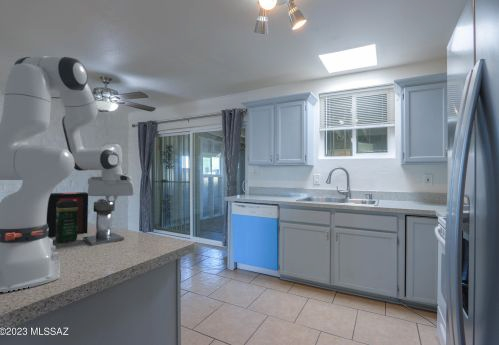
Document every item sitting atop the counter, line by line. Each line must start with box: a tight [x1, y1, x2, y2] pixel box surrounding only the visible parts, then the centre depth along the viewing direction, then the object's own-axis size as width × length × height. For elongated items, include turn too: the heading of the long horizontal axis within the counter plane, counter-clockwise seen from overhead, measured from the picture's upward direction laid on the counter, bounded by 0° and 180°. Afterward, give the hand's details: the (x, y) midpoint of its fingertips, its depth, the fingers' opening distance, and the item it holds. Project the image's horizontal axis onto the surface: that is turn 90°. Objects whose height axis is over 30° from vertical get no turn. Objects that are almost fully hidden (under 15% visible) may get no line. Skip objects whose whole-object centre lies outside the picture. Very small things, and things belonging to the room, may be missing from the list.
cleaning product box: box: [47, 191, 89, 238], centre depth 127 cm, size 16×9×20 cm, turn 130°
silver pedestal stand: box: [82, 211, 125, 246], centre depth 117 cm, size 13×13×13 cm
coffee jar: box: [54, 199, 78, 243], centre depth 115 cm, size 10×8×19 cm
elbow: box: [93, 198, 116, 213], centre depth 119 cm, size 15×8×5 cm, turn 36°
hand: (111, 205), depth 125 cm, fingers closed
